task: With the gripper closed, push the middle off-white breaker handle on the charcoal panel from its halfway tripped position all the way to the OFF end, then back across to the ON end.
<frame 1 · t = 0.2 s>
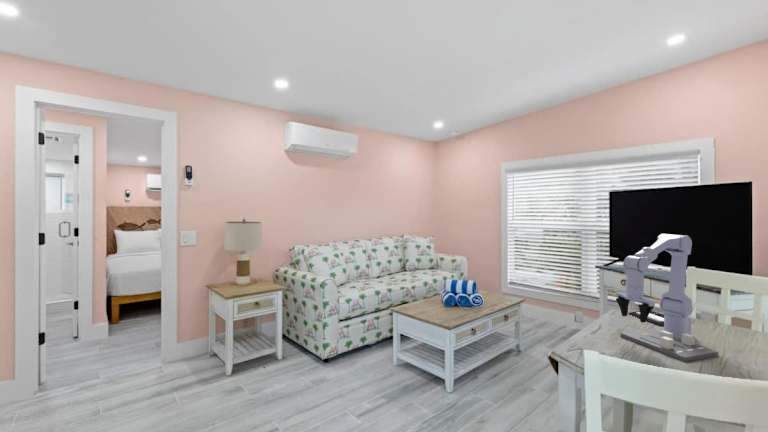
hand: (633, 318, 138), 10 cm above the table, tool pointing down, fingers open, 7 cm apart
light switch: (654, 320, 167), on the table
breaker panel: (666, 345, 136), on the table
tripped handle: (666, 336, 136), point 4 cm above the table, slide at 4.0 cm
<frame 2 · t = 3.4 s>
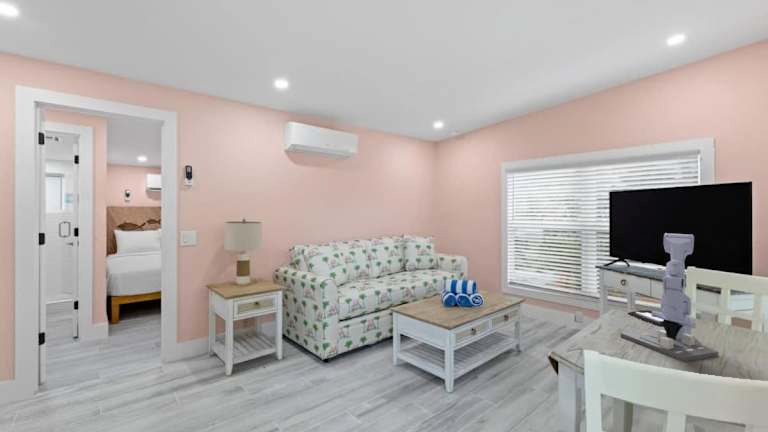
hand: (671, 340, 134), 3 cm above the table, tool pointing down, fingers closed
tripped handle: (663, 335, 137), point 4 cm above the table, slide at 3.0 cm, touching gripper
everything else where it was.
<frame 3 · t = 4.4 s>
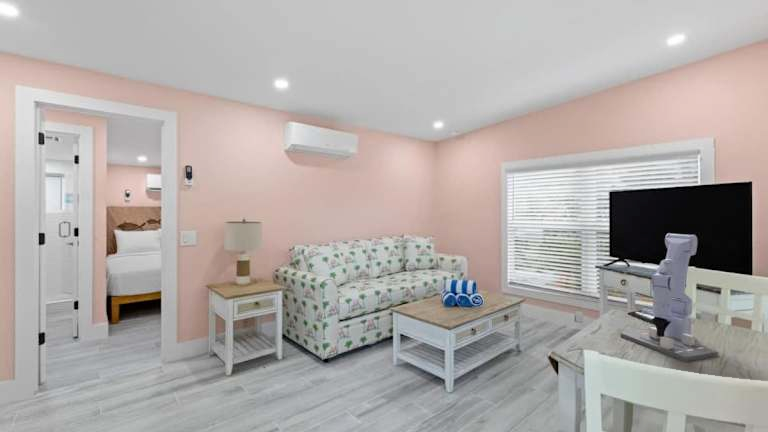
hand: (660, 336, 138), 3 cm above the table, tool pointing down, fingers closed
tripped handle: (654, 332, 140), point 3 cm above the table, slide at -0.4 cm, touching gripper
everything else where it was.
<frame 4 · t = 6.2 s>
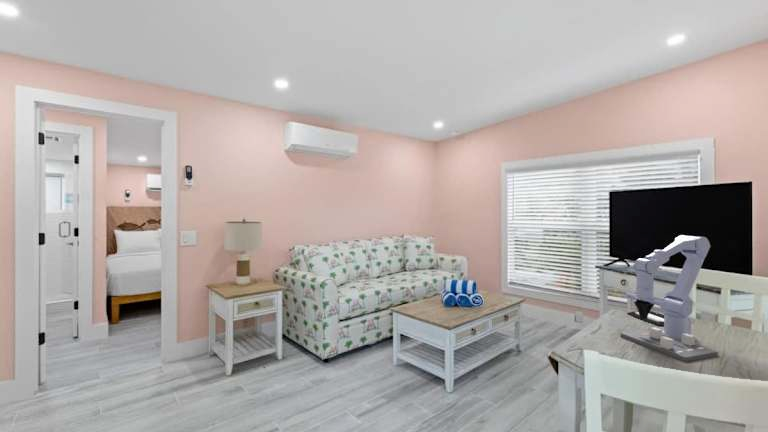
hand: (643, 318, 144), 8 cm above the table, tool pointing down, fingers closed
tripped handle: (655, 333, 140), point 4 cm above the table, slide at -0.1 cm
everything else where it was.
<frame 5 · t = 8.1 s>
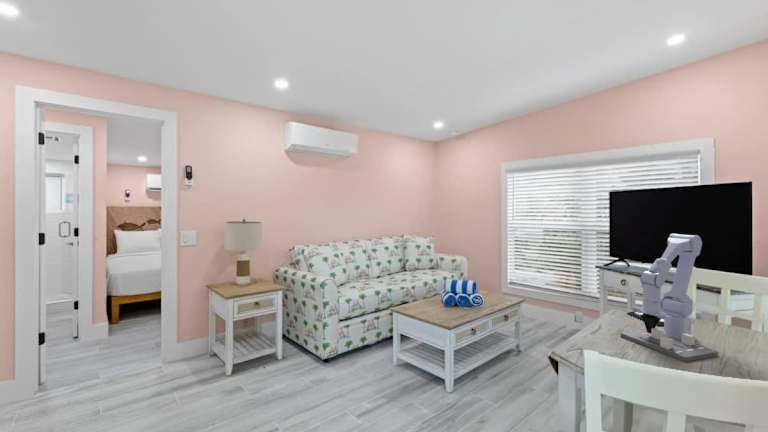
hand: (650, 332, 142), 3 cm above the table, tool pointing down, fingers closed
tripped handle: (657, 333, 139), point 4 cm above the table, slide at 0.6 cm, touching gripper
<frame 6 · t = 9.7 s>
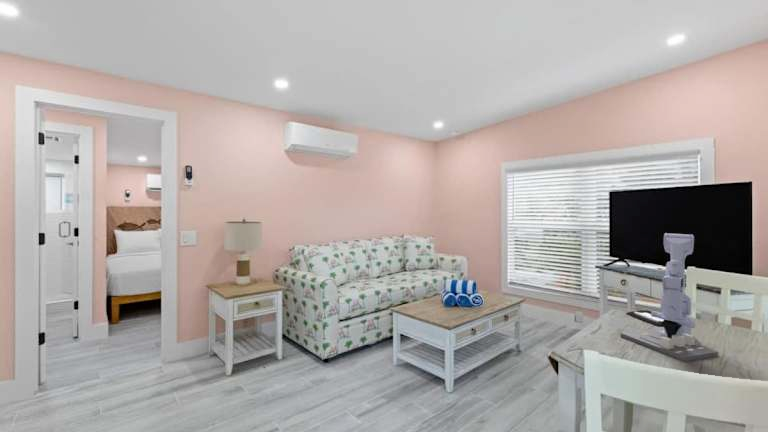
hand: (671, 339, 134), 3 cm above the table, tool pointing down, fingers closed
tripped handle: (678, 340, 132), point 4 cm above the table, slide at 8.2 cm, touching gripper
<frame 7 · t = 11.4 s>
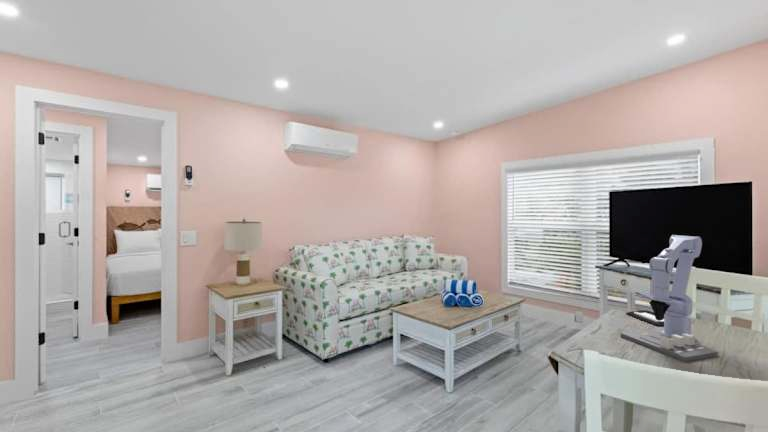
hand: (659, 319, 139), 9 cm above the table, tool pointing down, fingers closed
tripped handle: (677, 340, 132), point 3 cm above the table, slide at 8.1 cm
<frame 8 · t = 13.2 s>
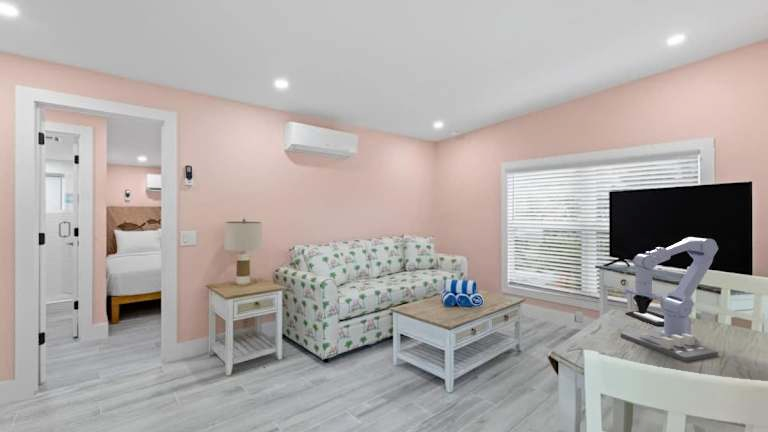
hand: (642, 313, 147), 9 cm above the table, tool pointing down, fingers closed
at the end: tripped handle slide at 8.1 cm; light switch moved 2.0 cm from its start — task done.
